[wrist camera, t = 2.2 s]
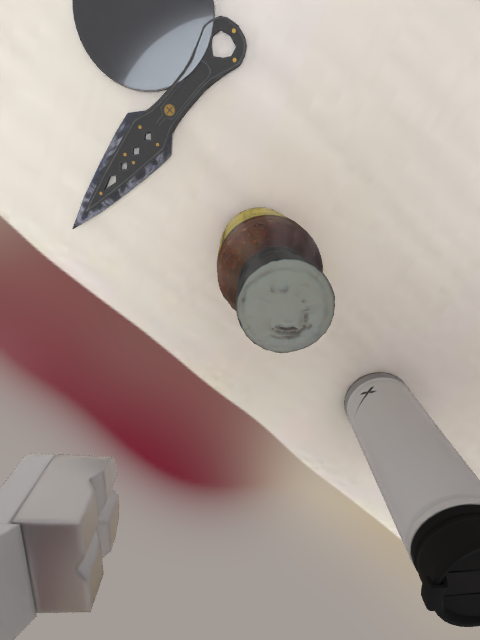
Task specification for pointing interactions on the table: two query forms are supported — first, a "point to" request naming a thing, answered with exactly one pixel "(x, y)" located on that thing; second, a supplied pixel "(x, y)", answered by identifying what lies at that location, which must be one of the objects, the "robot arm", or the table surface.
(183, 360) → the table surface
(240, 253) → the sauce bottle
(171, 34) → the round mirror
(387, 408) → the travel mug
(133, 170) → the throwing knife
